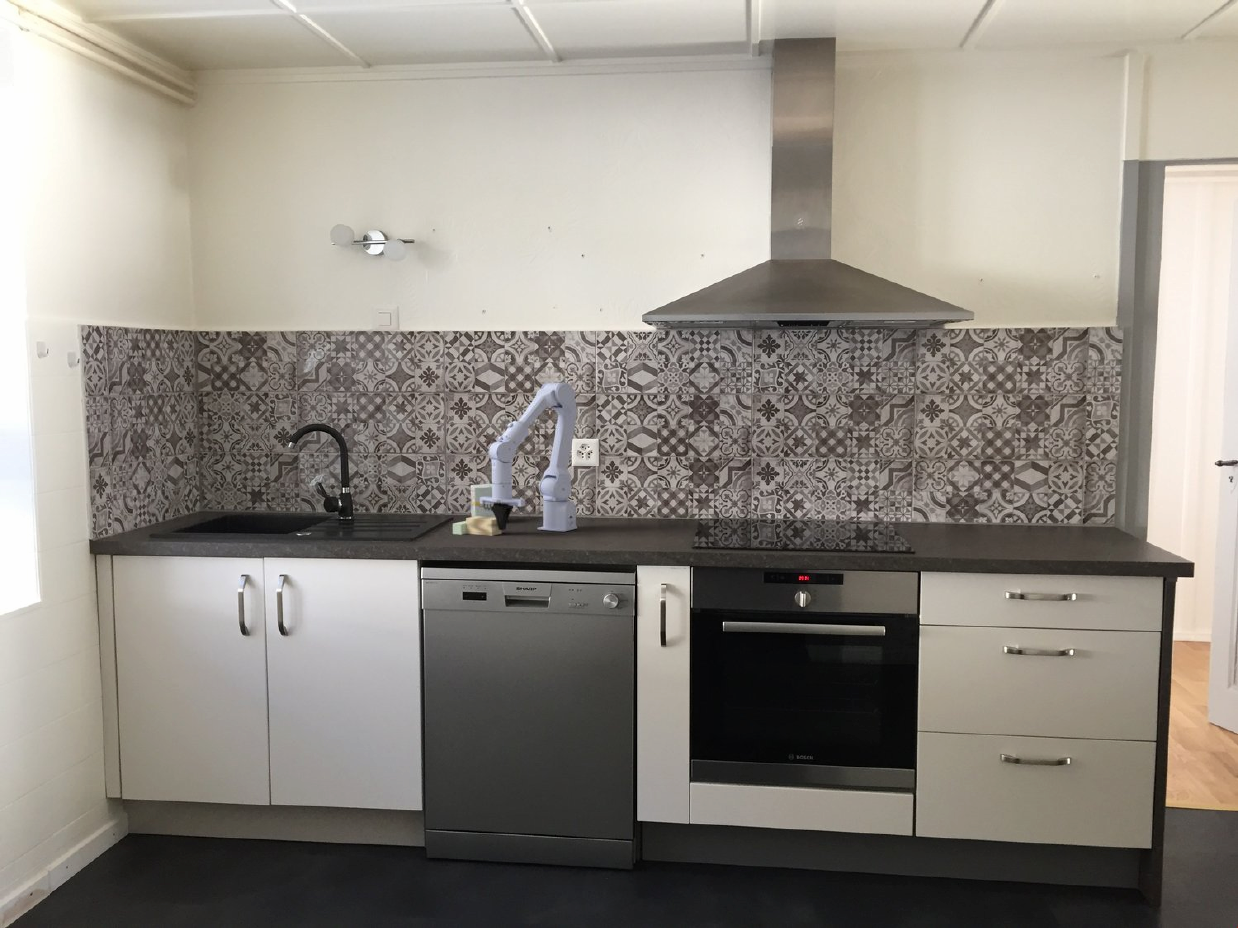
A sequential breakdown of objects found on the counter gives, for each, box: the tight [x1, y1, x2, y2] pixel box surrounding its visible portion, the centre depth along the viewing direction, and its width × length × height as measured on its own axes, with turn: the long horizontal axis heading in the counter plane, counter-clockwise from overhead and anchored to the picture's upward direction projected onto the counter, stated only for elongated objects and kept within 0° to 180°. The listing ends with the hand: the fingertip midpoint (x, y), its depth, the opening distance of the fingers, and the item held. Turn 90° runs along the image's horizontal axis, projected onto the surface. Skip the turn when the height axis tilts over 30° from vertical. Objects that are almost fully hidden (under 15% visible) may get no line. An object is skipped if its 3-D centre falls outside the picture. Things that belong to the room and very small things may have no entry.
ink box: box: [470, 483, 502, 518], centre depth 310 cm, size 9×9×12 cm
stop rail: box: [452, 520, 466, 536], centre depth 292 cm, size 3×14×3 cm, turn 152°
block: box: [465, 516, 503, 537], centre depth 288 cm, size 9×5×4 cm, turn 62°
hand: (502, 529), depth 286 cm, fingers closed
